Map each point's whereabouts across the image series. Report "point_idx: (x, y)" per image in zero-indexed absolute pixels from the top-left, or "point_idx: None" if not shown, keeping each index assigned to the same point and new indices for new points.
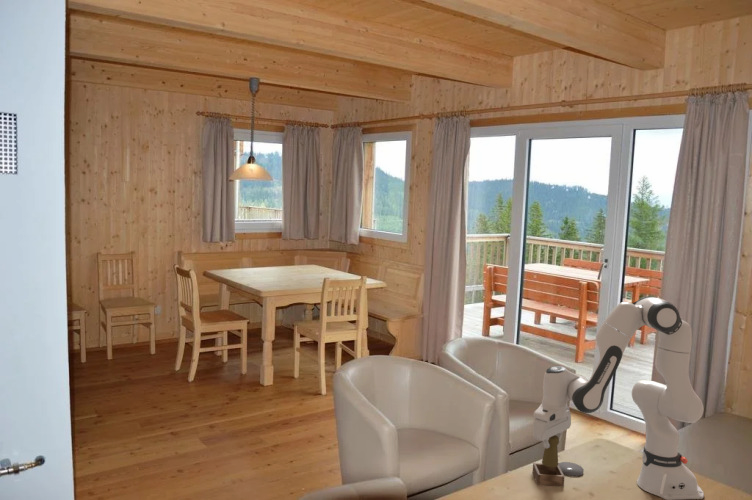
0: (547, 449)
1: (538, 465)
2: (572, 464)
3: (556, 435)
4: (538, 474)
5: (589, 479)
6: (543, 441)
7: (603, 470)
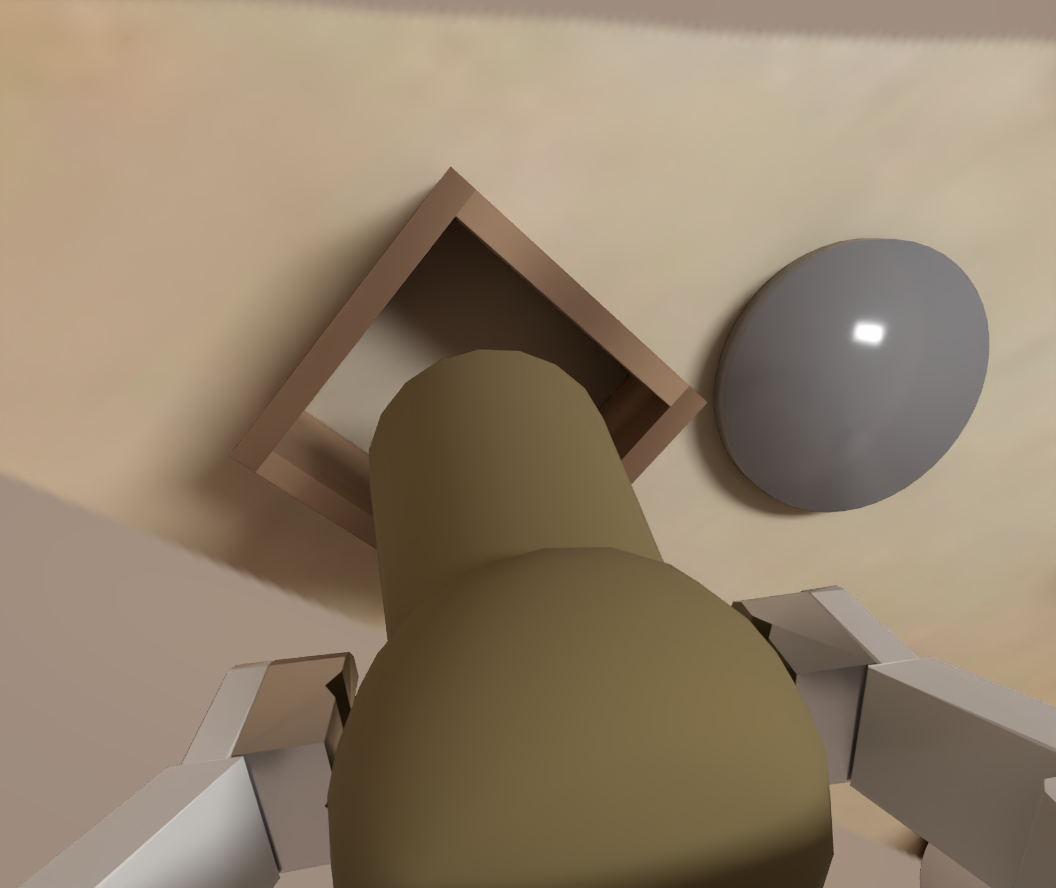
0: (388, 622)
1: (487, 244)
2: (950, 349)
3: (941, 741)
4: (240, 451)
5: (806, 578)
6: (97, 850)
7: (1051, 533)
